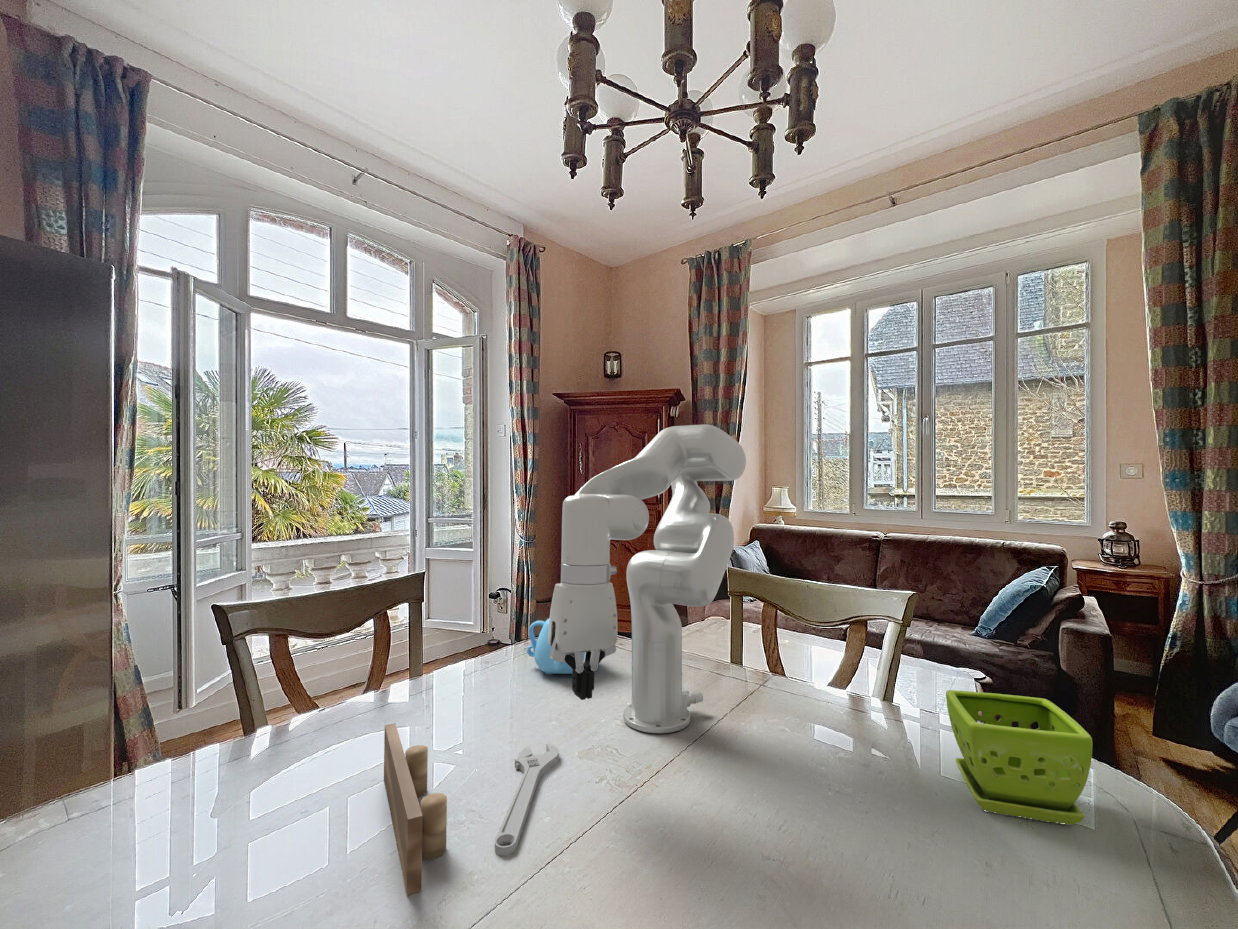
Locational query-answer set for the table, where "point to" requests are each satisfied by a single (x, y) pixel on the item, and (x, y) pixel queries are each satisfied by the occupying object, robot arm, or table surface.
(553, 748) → the adjustable wrench
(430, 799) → the tool rack
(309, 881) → the table surface
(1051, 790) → the flower pot
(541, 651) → the decorative pot
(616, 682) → the table surface
